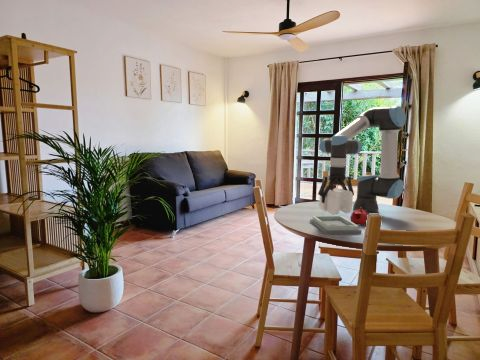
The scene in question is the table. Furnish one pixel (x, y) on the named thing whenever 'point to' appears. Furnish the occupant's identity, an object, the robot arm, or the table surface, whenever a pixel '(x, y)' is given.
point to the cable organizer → (338, 201)
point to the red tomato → (359, 217)
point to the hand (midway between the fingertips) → (335, 209)
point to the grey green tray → (335, 225)
